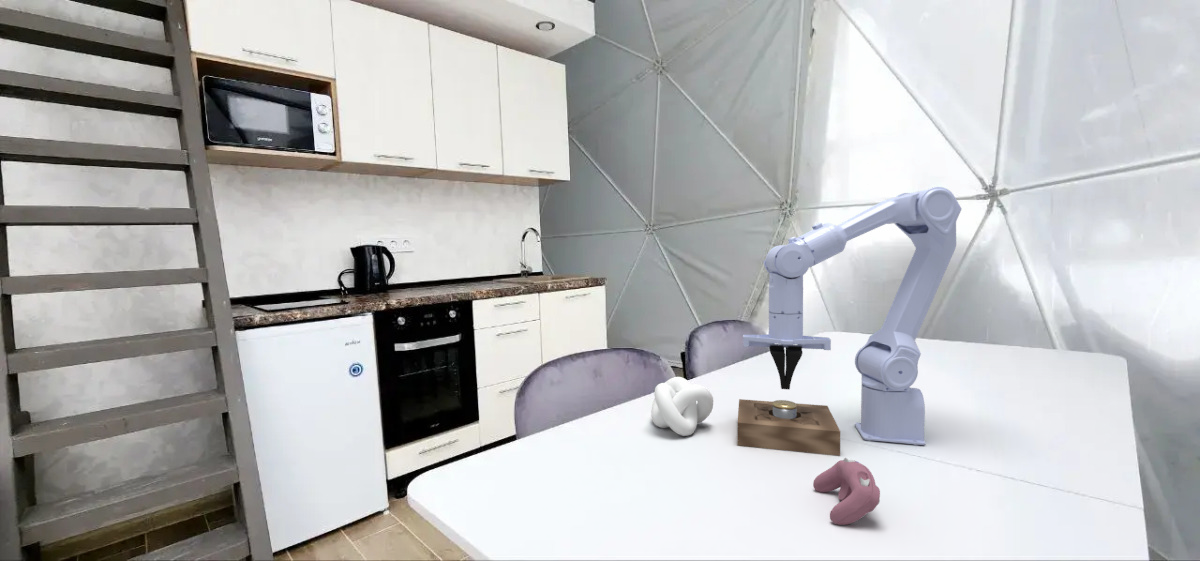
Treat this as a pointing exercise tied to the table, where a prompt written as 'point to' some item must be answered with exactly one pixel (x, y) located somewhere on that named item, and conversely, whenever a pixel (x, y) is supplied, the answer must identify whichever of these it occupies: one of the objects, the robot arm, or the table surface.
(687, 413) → the white knot sculpture
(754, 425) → the jig
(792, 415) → the brass capped cylinder
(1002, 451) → the table surface
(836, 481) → the video game controller
